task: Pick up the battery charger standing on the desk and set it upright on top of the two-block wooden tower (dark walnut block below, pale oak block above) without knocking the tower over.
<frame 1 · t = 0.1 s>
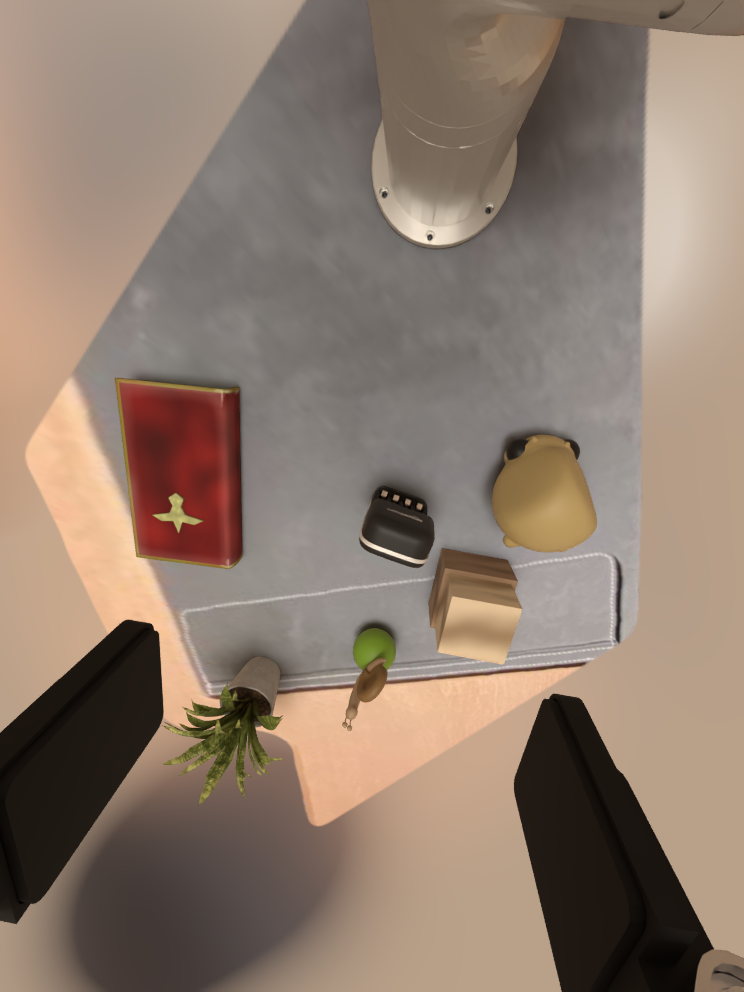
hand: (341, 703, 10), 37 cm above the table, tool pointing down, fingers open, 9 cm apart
snail figurine: (373, 637, 54), on the table
toy pig: (529, 481, 45), on the table
oak block: (472, 605, 45), point 5 cm above the table, touching walnut block
hardcover book: (196, 470, 48), on the table
house plant: (268, 664, 57), on the table
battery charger: (400, 500, 47), on the table
walnut block: (466, 581, 50), on the table, touching oak block
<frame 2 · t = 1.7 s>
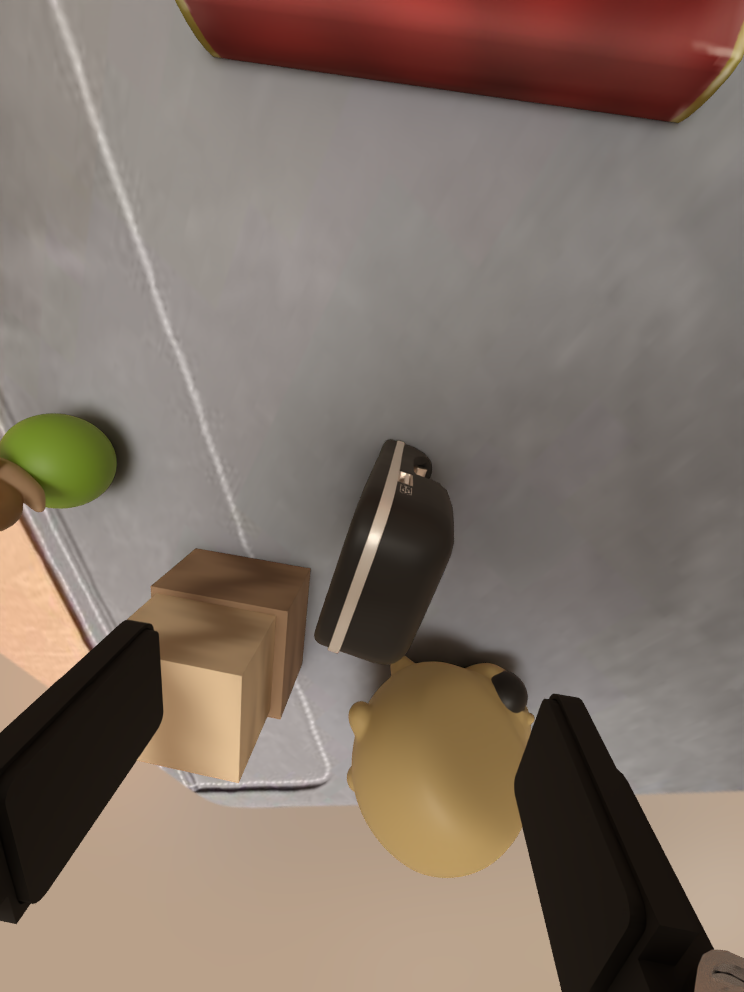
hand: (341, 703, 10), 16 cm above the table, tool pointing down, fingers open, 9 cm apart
snail figurine: (92, 445, 26), on the table
toy pig: (438, 685, 29), on the table
oak block: (215, 653, 24), point 5 cm above the table, touching walnut block
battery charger: (399, 495, 24), on the table
walnut block: (252, 606, 28), on the table, touching oak block
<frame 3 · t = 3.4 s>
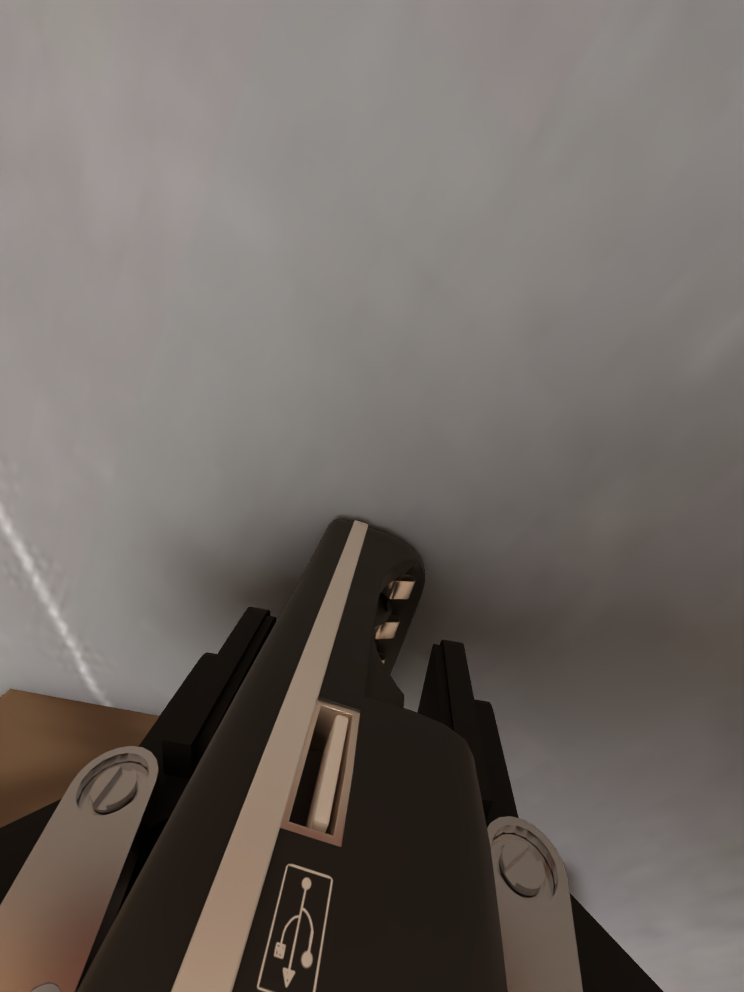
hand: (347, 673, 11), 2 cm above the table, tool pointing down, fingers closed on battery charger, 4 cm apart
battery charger: (365, 615, 13), on the table, touching gripper
walnut block: (121, 775, 17), on the table, touching oak block
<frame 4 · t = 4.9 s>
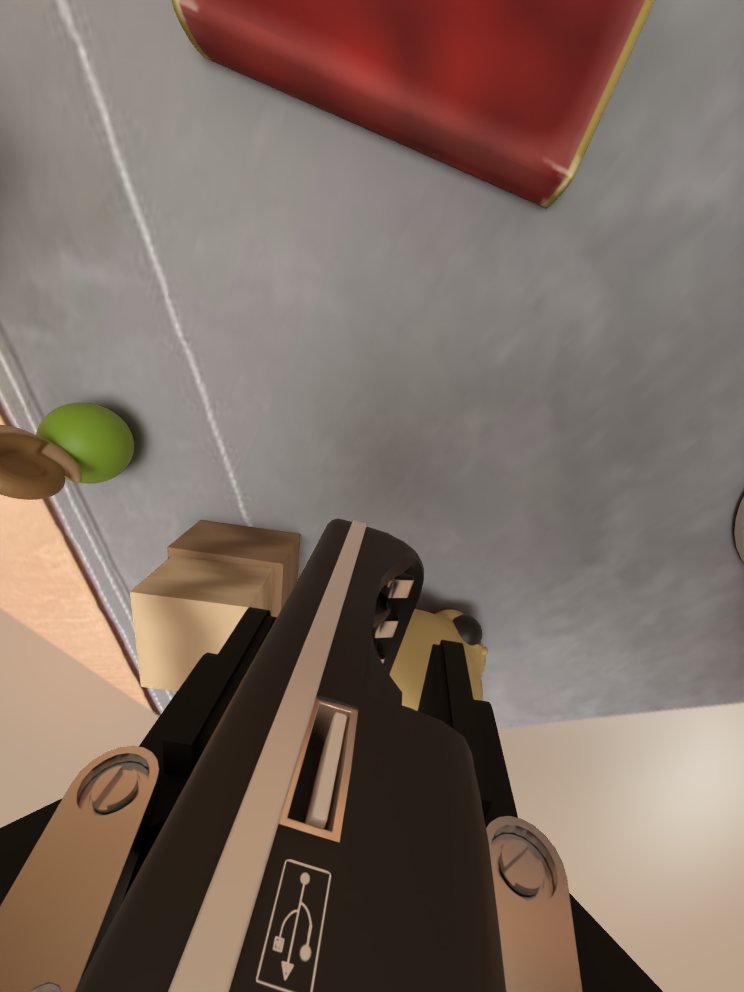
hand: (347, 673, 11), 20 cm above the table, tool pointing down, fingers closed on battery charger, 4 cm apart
snail figurine: (110, 431, 30), on the table
toy pig: (411, 633, 34), on the table
oak block: (223, 605, 28), point 5 cm above the table, touching walnut block
hardcover book: (419, 14, 21), on the table
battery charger: (365, 614, 13), point 17 cm above the table, touching gripper
walnut block: (250, 569, 33), on the table, touching oak block
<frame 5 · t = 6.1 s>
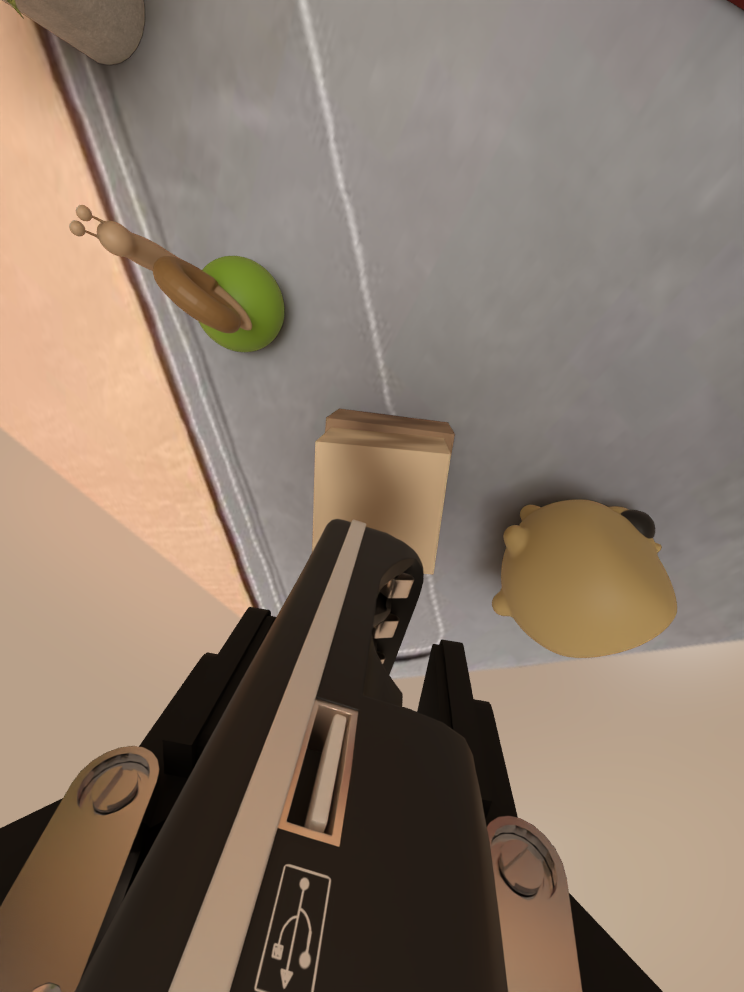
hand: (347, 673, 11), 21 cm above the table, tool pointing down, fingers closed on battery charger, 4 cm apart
snail figurine: (251, 306, 28), on the table
toy pig: (556, 540, 31), on the table
oak block: (382, 486, 26), point 5 cm above the table, touching walnut block
house plant: (124, 27, 23), on the table
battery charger: (365, 614, 13), point 18 cm above the table, touching gripper
walnut block: (386, 467, 31), on the table, touching oak block
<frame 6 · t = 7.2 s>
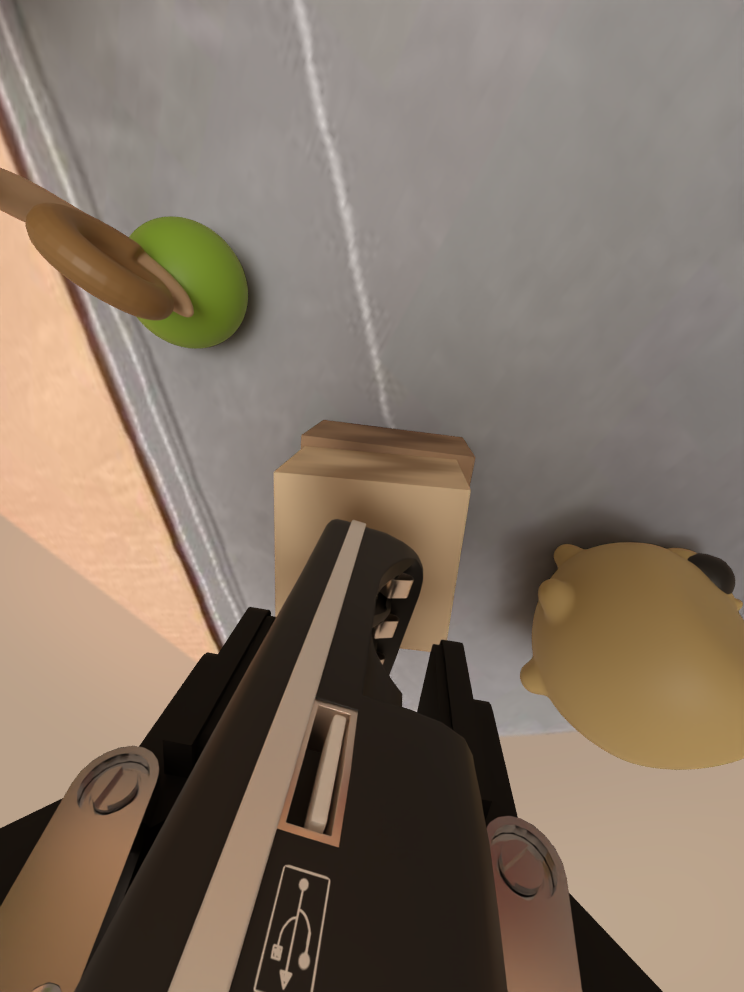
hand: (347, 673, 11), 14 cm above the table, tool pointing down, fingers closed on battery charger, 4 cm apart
snail figurine: (208, 289, 21), on the table
toy pig: (596, 586, 25), on the table
oak block: (374, 522, 19), point 5 cm above the table
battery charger: (364, 614, 13), point 12 cm above the table, touching gripper
walnut block: (384, 493, 24), on the table
when the fingers open (13 cm above the table, at t = 8.2 s): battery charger stays where it is, point 10 cm above the table.
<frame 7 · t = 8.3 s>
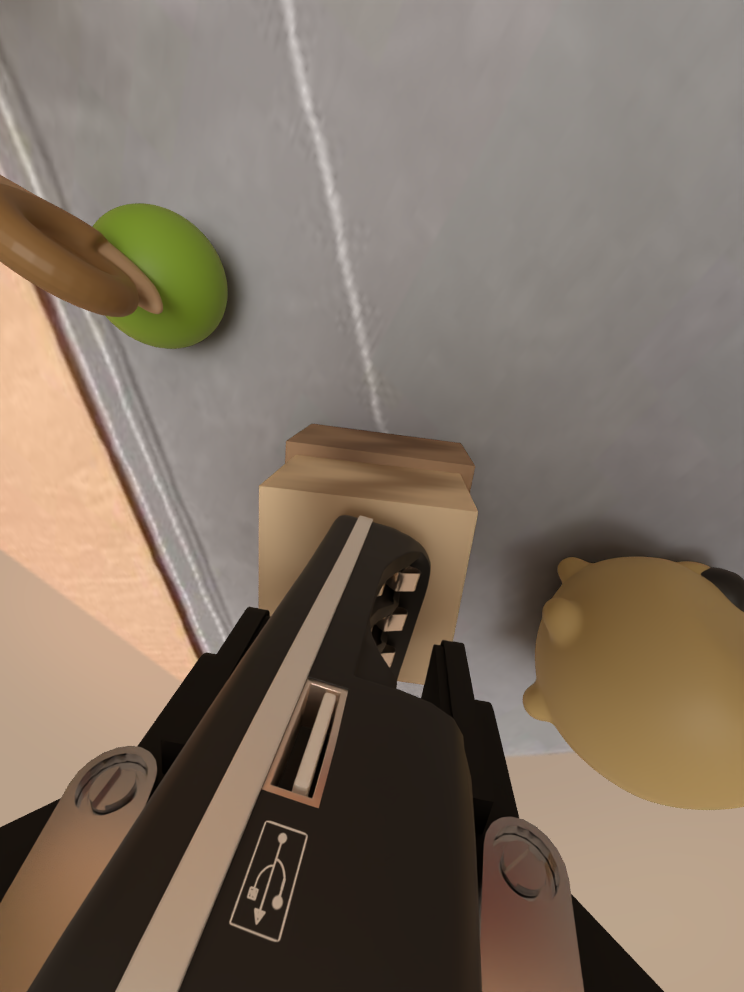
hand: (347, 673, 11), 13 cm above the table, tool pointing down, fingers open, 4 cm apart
snail figurine: (186, 285, 20), on the table
toy pig: (602, 600, 24), on the table
oak block: (369, 538, 18), point 5 cm above the table, touching walnut block
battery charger: (376, 609, 13), point 10 cm above the table
walnut block: (377, 502, 23), on the table, touching oak block
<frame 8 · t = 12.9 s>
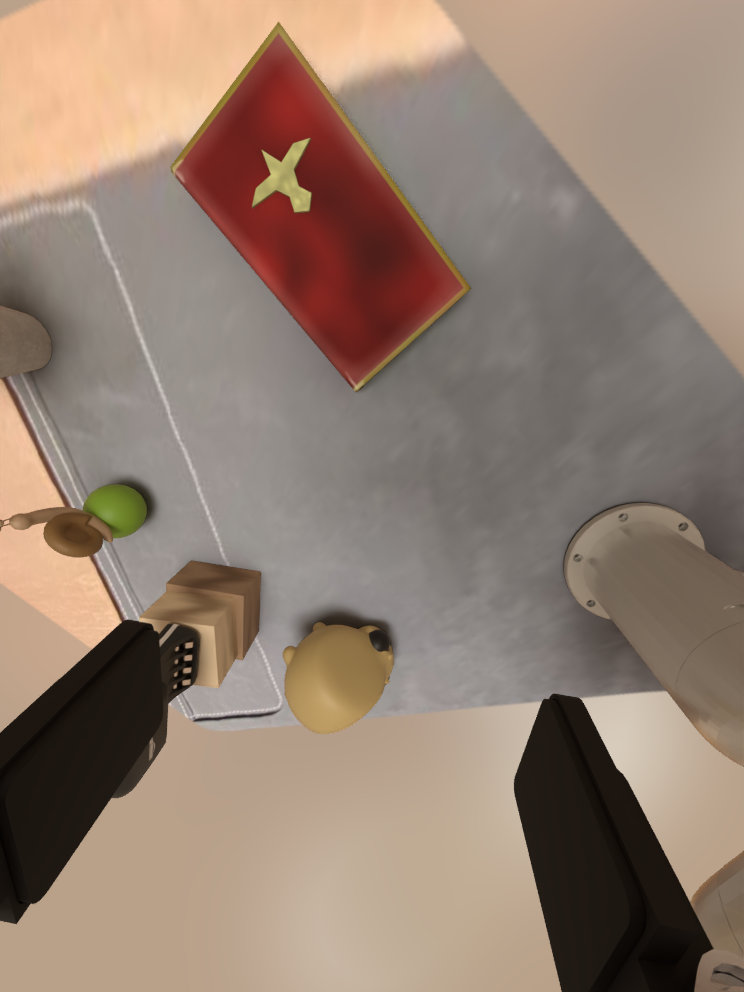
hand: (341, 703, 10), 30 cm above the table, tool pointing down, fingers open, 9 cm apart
snail figurine: (130, 498, 43), on the table
toy pig: (345, 641, 46), on the table
oak block: (203, 623, 41), point 5 cm above the table, touching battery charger, walnut block
hardcover book: (331, 245, 34), on the table
house plant: (40, 350, 38), on the table
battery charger: (188, 652, 37), point 9 cm above the table, touching oak block
walnut block: (226, 595, 46), on the table, touching oak block
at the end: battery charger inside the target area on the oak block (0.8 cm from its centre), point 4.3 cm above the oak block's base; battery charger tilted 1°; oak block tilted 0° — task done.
